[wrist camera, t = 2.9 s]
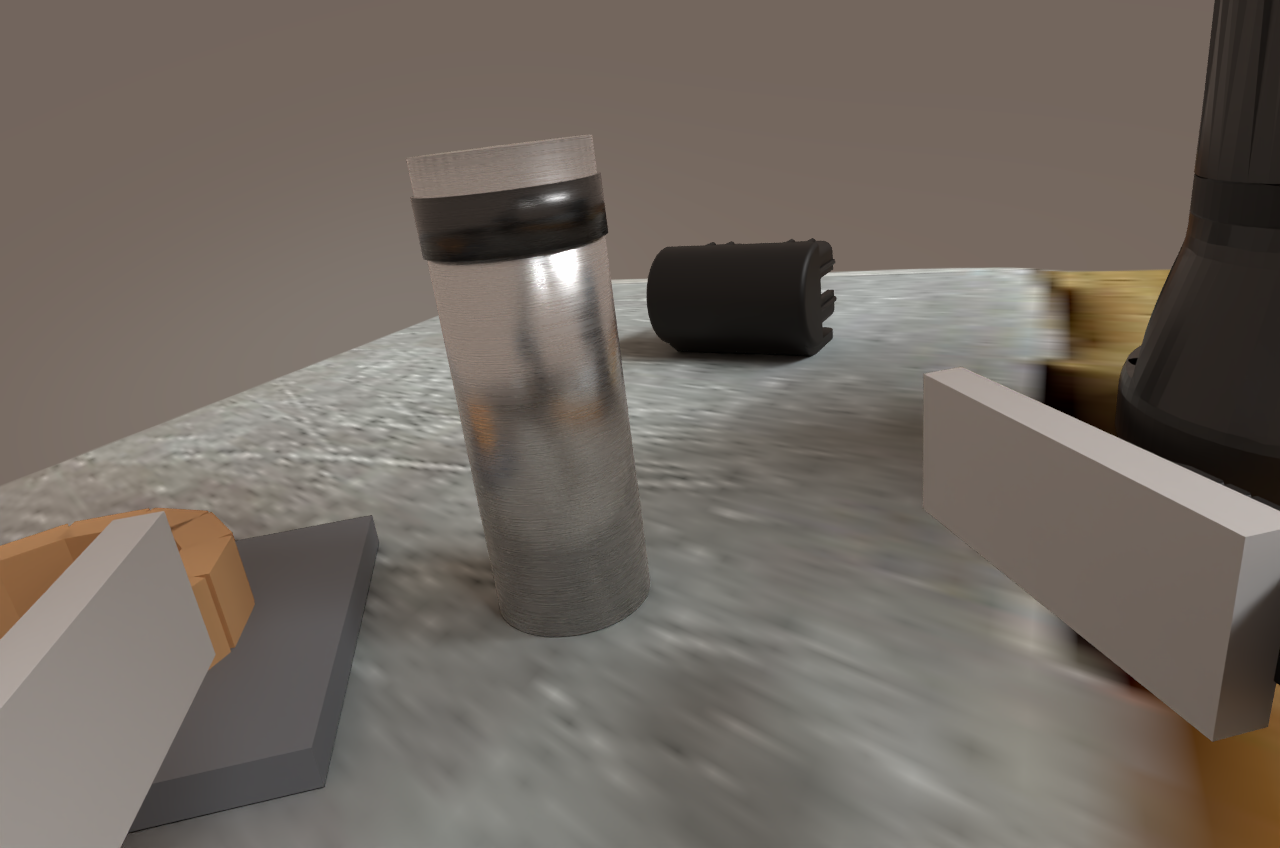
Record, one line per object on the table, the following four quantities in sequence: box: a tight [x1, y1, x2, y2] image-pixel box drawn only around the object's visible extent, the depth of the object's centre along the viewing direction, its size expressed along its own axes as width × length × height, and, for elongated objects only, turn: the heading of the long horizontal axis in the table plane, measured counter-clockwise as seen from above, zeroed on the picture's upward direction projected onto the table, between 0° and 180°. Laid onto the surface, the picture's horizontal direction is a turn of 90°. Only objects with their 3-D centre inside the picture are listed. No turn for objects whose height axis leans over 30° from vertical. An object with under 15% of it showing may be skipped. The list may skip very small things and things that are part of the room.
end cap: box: [647, 238, 836, 355], centre depth 50 cm, size 10×7×7 cm
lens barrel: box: [406, 135, 650, 637], centre depth 24 cm, size 5×5×14 cm
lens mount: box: [0, 508, 379, 832], centre depth 24 cm, size 16×13×4 cm
